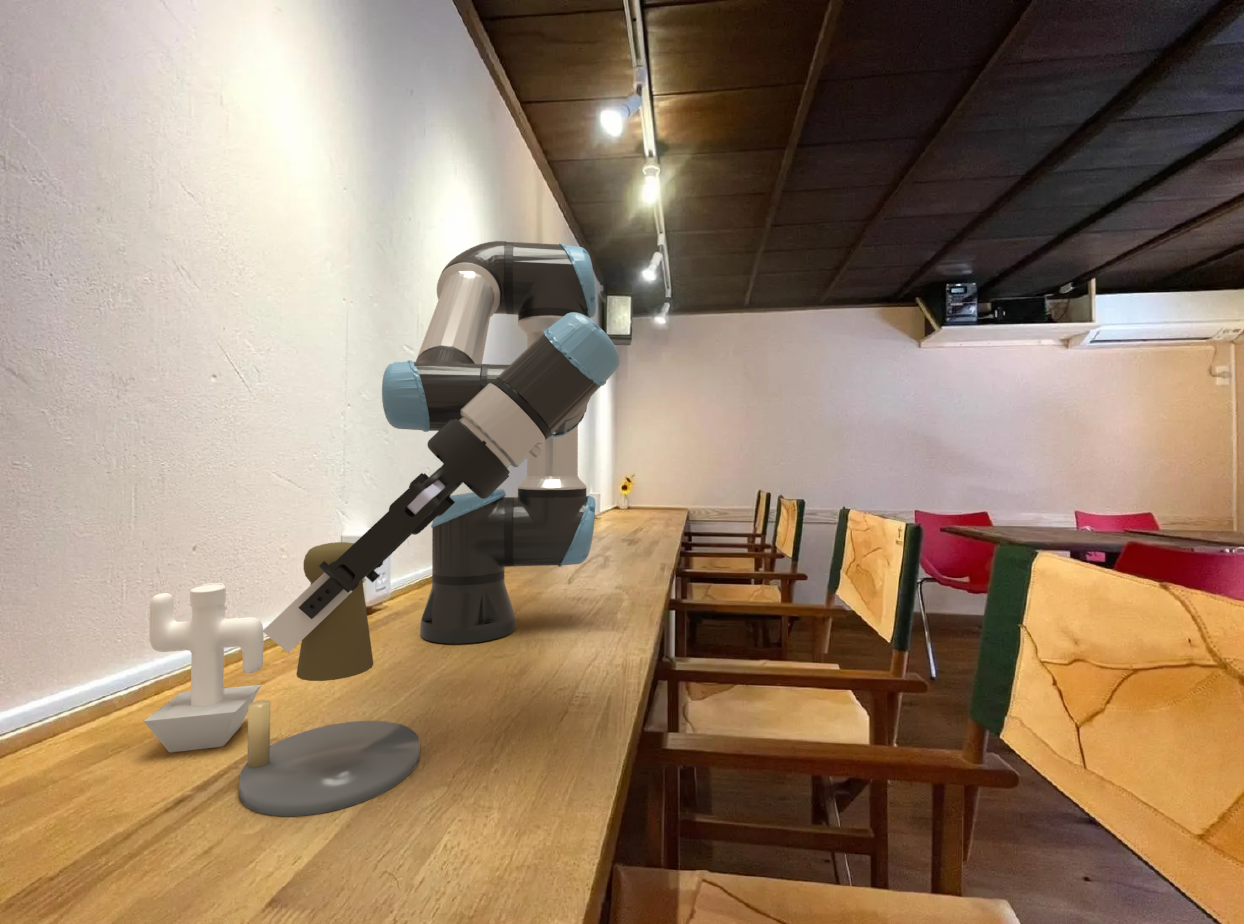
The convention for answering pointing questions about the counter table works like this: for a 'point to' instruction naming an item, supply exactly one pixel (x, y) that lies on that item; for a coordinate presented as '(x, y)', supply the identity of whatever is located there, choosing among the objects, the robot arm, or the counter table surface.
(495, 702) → the counter table surface
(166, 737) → the figurine
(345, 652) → the brown rounded upright piece
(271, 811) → the coaster plate
